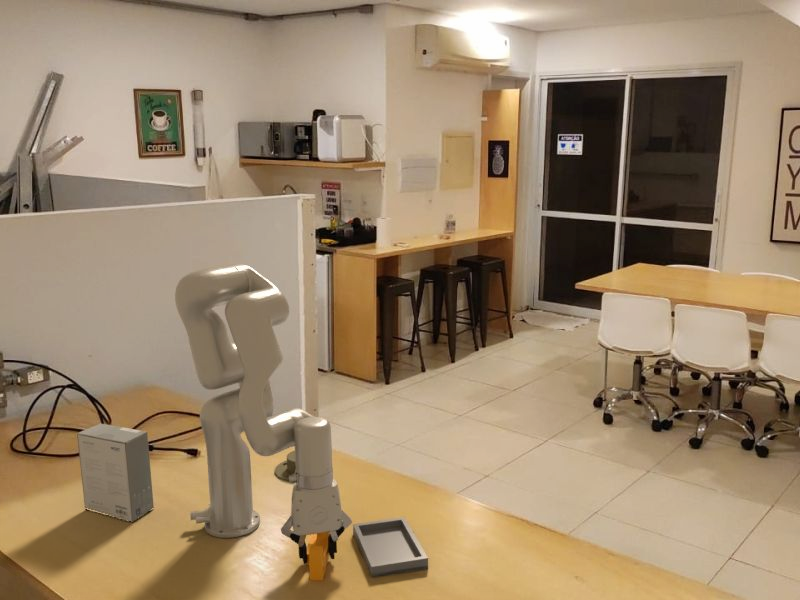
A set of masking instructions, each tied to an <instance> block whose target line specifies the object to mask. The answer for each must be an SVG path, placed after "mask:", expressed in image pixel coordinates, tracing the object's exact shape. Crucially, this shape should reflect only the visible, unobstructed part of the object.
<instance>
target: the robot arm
mask: <svg viewBox="0 0 800 600" xmlns="http://www.w3.org/2000/svg"><path fill="white" fill-rule="evenodd" d="M174 300H175V306H176V309H177V313H178V315H179V317H180V319H181V322H182V324H183V326H184V328H185V332H186V334H187V337H188V342H189V346H190V351H191V354H192V355H191V356H192V360H193V364H194V369H195V372H196V375H197V378H198V381H199V384H201V386H202V387H203V388H204V389H205V390H219V389H223V388H226V387H230V386H232V385H236V384H238V385H239V388H237V389H234V390H229V391H226V392H224V393H221V394H217V395H216V396H213V397H211V398H210V399H208V400H207V401H206V402H205V403H204V404H203V405H202V406H201V409H200V410H199V422H200V427H201V429H202V432H203V436H204V441H205V447H206V450H205V451H206V458H207V462H206V463H207V475H208V491H209V504H208V508H204V510H195V511H194V510H193V511H190V514H189V515H190V521H195V523H196V524H202V523H203V524H204V530H205V531H206V533H207V534H209V535H210V536H213V537H217V538H221V539H222V538H223V539H225V538H226V539H227V538H229V539H230V538H238V537H241V536H245V535H248V534H250V533H252V532H254V531H255V530H256V529H257V528H258V527H259V526H260V524H261V516H260V514H259V512H257V511H256V510H254V509H253V508H254V507H253V503H254V502H253V487H252V486H253V484H252V465H251V452H250V448H249V446H250V447H251V449H252V450H253V451H254V452H255V454H257V455H259V456H262V457H269V456H270V457H271V456H274V455H276V454H279V453H280V452H283V451H285V450H288V449H289V448H292V447H294V451H295V464H296V469H295V472H294V474H293V475H289V477H288V478H289V481H290V482H289V483H293V486H292V487H293V488H292V493H291V508H290V509H291V510H290V511H291V512H290V515H289V517H288V519H287V520H286V521H285V522H284V523H283V526H282V527H281V528H280V532H281V534H282V535H284V536H285V537H287V538H289V539H290V540H291V541H292V542H295V544H297V546H298V557H299V559H302V562H303V564H304V565H306V563H307V547H308V545H307V543H306V538H307V536H311V535H317V534H318V533H324V532H330V534H329V537H328V549H329V559H331V560H335V554H336V553H337V552H338V548H337V547H338V546H337V541H338V540H339V538H340V536H341V535H342V534H343V533H344V532H345V530H346V529H348V528H349V526H350V525H352V523H353V521H352V519H351V517H350V516H349V514H347V513H346V512H345V511H343V510H342V502H341V496H340V489H339V485H338V482H337V481H336V479H335V478H334V474H333V473H334V472H333V449H332V447H333V446H332V426H331V423H330V421H329V420H328V419H326V418H324V417H320V416H314V415H312V414H310V413H309V412H307V411H306V410H303V409H302V408H299V407H292V408H289V409H286V410H284V411H280V412H278V413H275V414H274V408H275V401H274V397H273V391H272V387H271V383H270V378H271V377H272V375H273V374H274V372H275V371H276V370H278V368H279V367H280V366H281V365H282V363H283V362H284V356H283V353H282V350H281V348H280V345H279V342H278V339H277V337H276V333H275V331H274V328H273V327H276V326H279V325H282V324H283V323H285V322H286V321H287V320H288V318H289V314H290V307H289V306H290V305H289V302H288V300H287V298H286V297H285V295H284V293H283V292H282V291H281V290H280V289H279V288H278V287H277V286H276V285H275V284H273V282H271V281H270V280H268V279H267V278H266V277H264V276H263V275H262V274H260V273H259V272H258V271H256V270H255V269H254V268H252V267H250V266H249V265H246V264H242V263H235V264H228V265H222V266H217V267H208V268H203V269H198V270H196V271H193V272H190V273H188V274H186V275H184V276H183V277H181V279H180V280H179V281H178V283H177V285H176V287H175V292H174ZM224 305H225V307H224V314H225V315H224V316H225V318H226V322H227V325H228V329H229V331H230V334H231V336H232V339H233V341H230V338H229V335H228V330H227V327H226V326H227V325H226V323H225V322H224V320H223V319H222V318H221V316H220V315H219V314H218V313H217V312H216V311H215V310H213V309H214V308H215V307H220V306H224ZM243 432H244V434H245V437H246V440H247V441H248V444H249V446H248V444H247V442H245V440H244V438H243V437H242V433H243ZM292 529H293V530H292Z"/></svg>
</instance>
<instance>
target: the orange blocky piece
mask: <svg viewBox="0 0 800 600" xmlns="http://www.w3.org/2000/svg"><path fill="white" fill-rule="evenodd" d="M329 534H330V532H324V533H318V534H311V535H309V536H310V537H309V538H308V539H309V540H308V542H307V563H306V564H305V565H307V566H308V567H309V580H310V581H323V580H324V576H325V573H326V570H327V565H328V563H329V559H330V555H329V549H328V537H329Z"/></svg>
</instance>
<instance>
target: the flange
mask: <svg viewBox="0 0 800 600" xmlns="http://www.w3.org/2000/svg"><path fill="white" fill-rule="evenodd" d="M285 464H286V465H285ZM295 469H296V464H295V450H292V451H290V452H289V453H287V455H286V459H285V460H284V461H281V462H280V463H279V464H277V465H276V466H275V467H274V474H275V476H276V477H277V478H278V479H280V480H281V481H284V482H289V483H291V482H290V481H289V475H293V474H294V472H295Z"/></svg>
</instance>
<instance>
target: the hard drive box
mask: <svg viewBox="0 0 800 600" xmlns="http://www.w3.org/2000/svg"><path fill="white" fill-rule="evenodd" d="M148 436H149V435H148V431H145V430H139V429H134V428H130V427H122V426H116V425H111V424H105V423H98V424H96V425H93V426H91V427H87V428H86V429H84V430H81V431H79V432H78V433H77V434H76V437H77V445H78V446H77V448H78V456H79V466H80V475H81V483H82V492H83V493H82V495H83V500H84V501H83V502H84V504H83V505H84V509H85V508H88V509H91V510H95V511H98V512H101V513H105V514H108V515H111V516H114V517H117V518H121V519H124V520H123V521H125V520H128V521H127V522H129V521H131V522H130V523H132V522H135V521H137V520H138V519H139V518H138V517H140V516H141V517H143V516H145V515H146V514H147V513H146V512H148V511H150V510H151V509H152V508H154V509H155V507H154V495H153V483H152V482H153V481H152V473H151V471H152V469H151V460H150V449H149V438H148ZM151 511H152V510H151ZM151 511H150V512H151ZM145 513H146V514H145ZM148 513H149V512H148ZM144 514H145V515H144ZM142 515H143V516H142ZM114 517H113V518H114ZM141 517H140V518H141ZM117 518H116V519H117ZM137 518H138V519H137ZM134 520H135V521H134Z"/></svg>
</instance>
